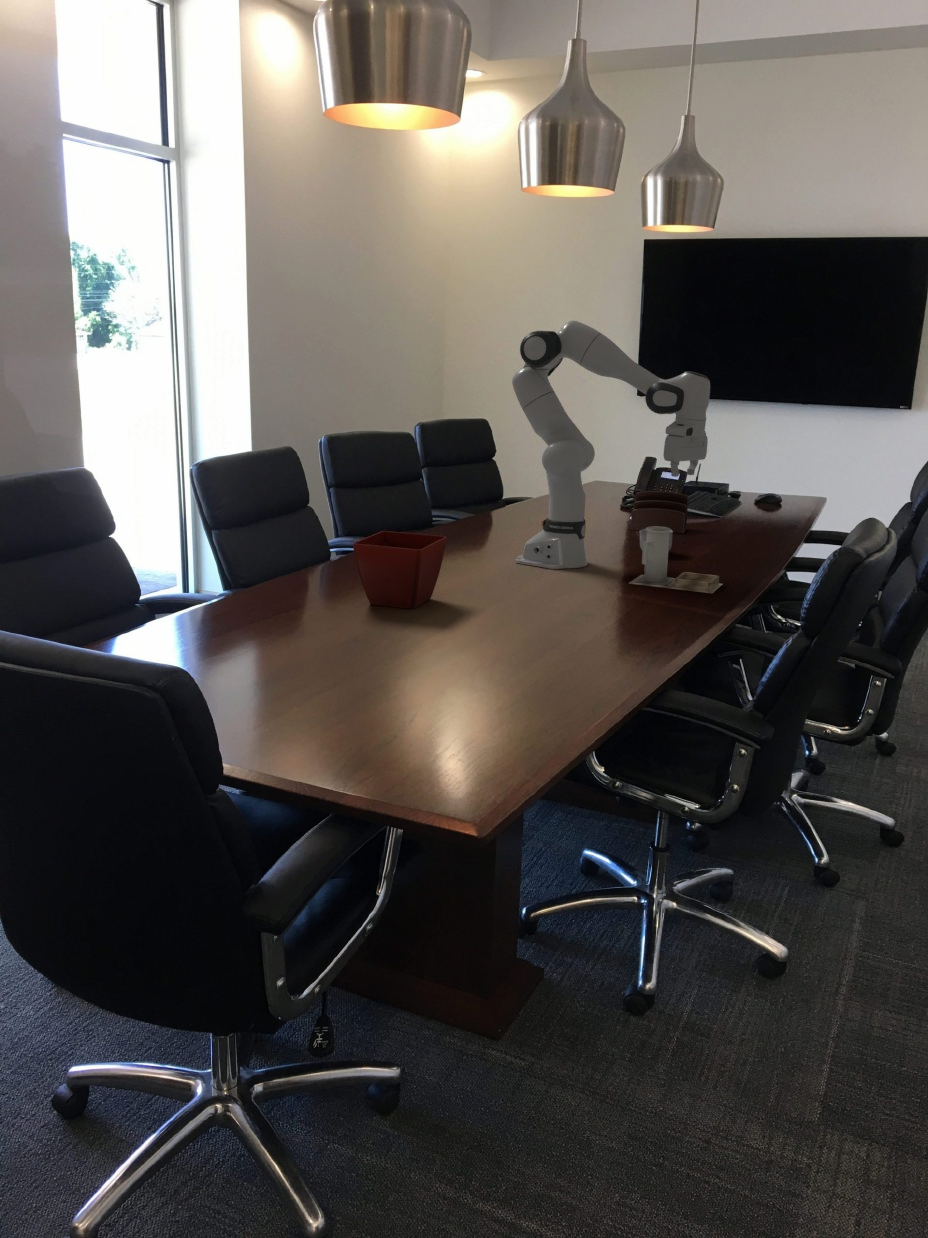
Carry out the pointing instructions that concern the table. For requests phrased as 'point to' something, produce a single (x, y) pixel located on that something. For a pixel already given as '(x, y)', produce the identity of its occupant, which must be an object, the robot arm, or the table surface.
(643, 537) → the teacup
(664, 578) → the tall white canister
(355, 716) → the table surface
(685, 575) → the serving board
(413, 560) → the plant pot
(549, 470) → the robot arm
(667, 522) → the letter holder
